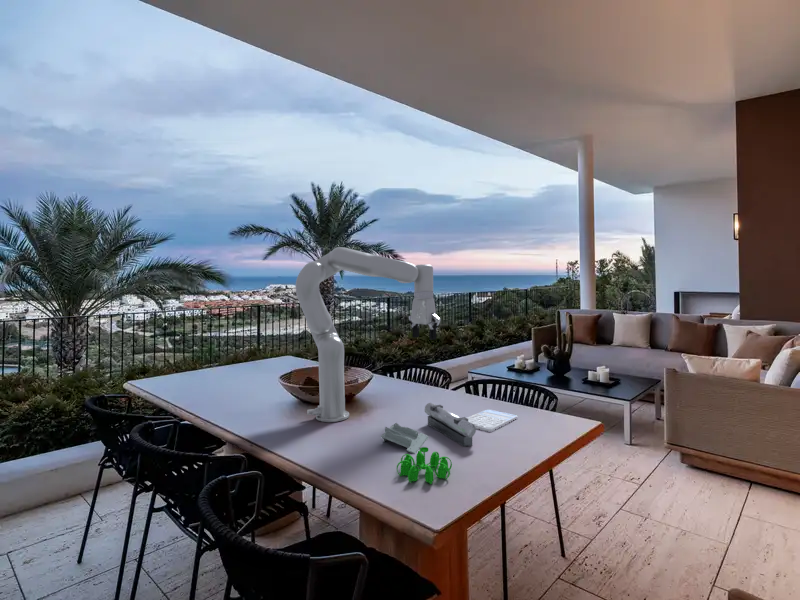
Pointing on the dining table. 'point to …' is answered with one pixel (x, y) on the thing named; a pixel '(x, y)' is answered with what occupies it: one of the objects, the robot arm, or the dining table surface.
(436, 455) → the chandelier
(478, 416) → the calculator
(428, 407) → the pipe mount
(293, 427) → the dining table surface
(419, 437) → the metal bracket
